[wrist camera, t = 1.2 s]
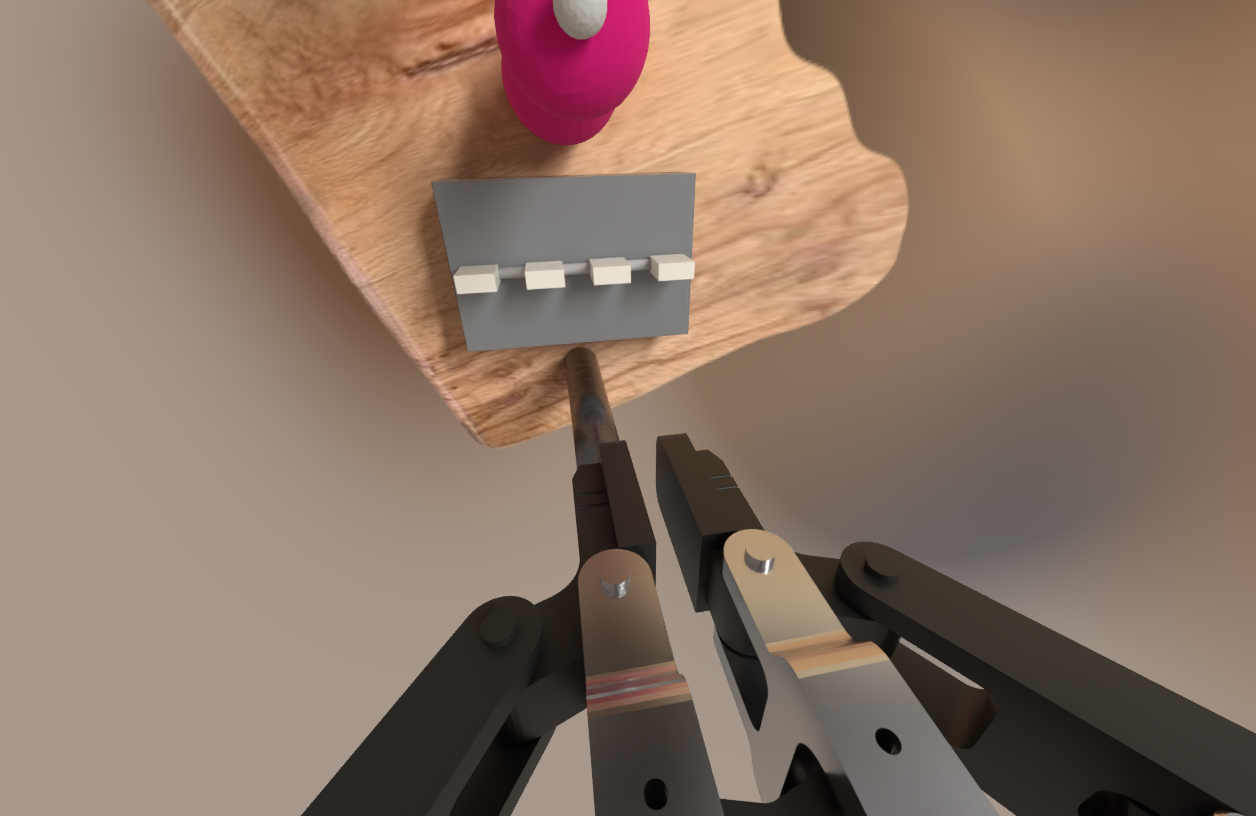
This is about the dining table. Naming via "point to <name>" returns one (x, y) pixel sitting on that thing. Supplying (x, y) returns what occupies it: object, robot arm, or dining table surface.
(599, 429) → the black cord post
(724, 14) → the dining table surface
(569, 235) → the breaker panel
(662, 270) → the breaker paddles
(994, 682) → the robot arm
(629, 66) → the pepper mill
